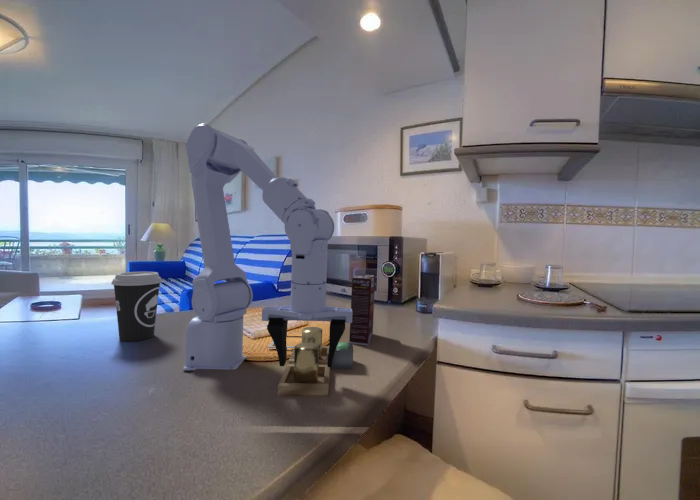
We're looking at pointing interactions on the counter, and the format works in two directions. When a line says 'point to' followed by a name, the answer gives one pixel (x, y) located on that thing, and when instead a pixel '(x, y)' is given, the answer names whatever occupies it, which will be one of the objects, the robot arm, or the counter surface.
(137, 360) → the counter surface
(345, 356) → the button pedestal
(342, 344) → the button
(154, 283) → the coffee cup
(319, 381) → the holder tray
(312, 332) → the seated billet
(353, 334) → the supplement box
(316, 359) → the cylinder
